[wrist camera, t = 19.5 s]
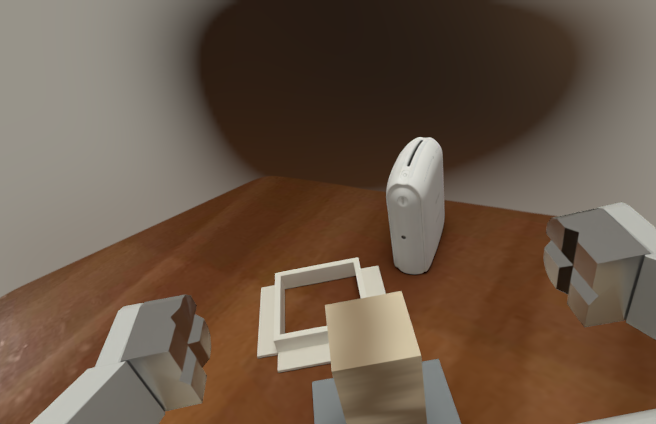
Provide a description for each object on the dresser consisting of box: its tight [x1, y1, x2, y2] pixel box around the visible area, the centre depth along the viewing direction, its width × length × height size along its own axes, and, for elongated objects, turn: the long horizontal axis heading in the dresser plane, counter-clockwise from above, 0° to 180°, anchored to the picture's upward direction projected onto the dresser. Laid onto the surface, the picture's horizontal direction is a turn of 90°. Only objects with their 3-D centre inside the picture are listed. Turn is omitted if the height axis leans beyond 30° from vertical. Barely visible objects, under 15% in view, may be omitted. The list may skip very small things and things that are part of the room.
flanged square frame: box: [257, 257, 386, 373], centre depth 44 cm, size 13×13×2 cm
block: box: [325, 291, 427, 424], centre depth 30 cm, size 5×5×12 cm
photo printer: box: [386, 137, 444, 274], centre depth 47 cm, size 10×4×12 cm, turn 157°
